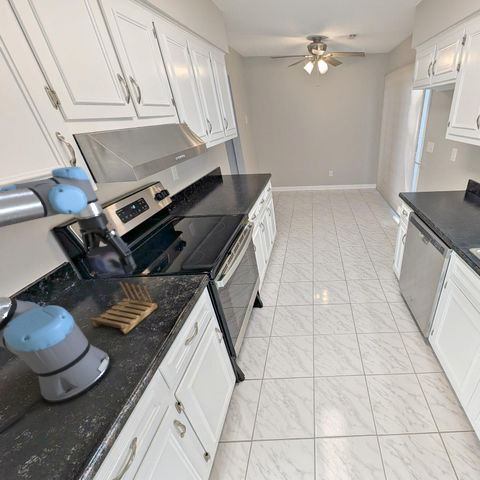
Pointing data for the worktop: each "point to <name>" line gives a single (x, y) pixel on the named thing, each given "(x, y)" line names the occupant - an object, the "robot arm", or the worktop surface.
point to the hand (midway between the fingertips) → (117, 270)
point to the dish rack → (127, 310)
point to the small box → (107, 262)
